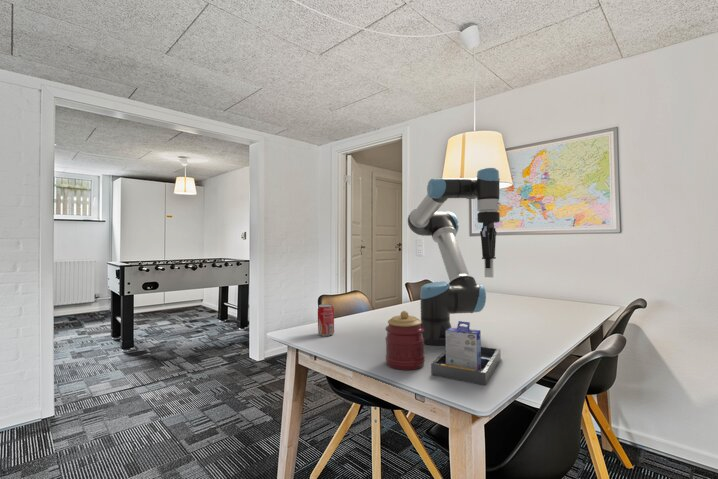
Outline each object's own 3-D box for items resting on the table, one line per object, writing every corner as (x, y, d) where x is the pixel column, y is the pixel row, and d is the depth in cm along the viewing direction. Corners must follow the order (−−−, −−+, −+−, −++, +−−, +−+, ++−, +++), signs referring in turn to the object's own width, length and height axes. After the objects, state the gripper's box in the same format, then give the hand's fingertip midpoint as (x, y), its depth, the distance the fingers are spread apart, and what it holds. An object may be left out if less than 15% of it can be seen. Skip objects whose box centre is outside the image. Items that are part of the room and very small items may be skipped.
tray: (431, 375, 109) (431, 363, 109) (454, 351, 131) (454, 341, 131) (485, 385, 101) (485, 372, 101) (500, 358, 123) (500, 348, 123)
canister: (425, 371, 112) (424, 315, 112) (383, 369, 114) (383, 314, 114) (424, 358, 125) (423, 307, 125) (387, 356, 127) (386, 307, 127)
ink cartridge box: (482, 369, 111) (481, 322, 111) (478, 375, 106) (477, 326, 106) (450, 363, 116) (449, 319, 116) (445, 369, 111) (444, 322, 111)
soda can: (337, 333, 158) (337, 304, 158) (327, 337, 152) (327, 307, 152) (324, 331, 162) (324, 303, 162) (314, 335, 156) (314, 305, 156)
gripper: (494, 210, 121) (495, 279, 122) (503, 212, 132) (504, 275, 132) (472, 211, 126) (473, 278, 126) (482, 213, 136) (483, 274, 137)
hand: (489, 277), depth 129 cm, fingers closed
